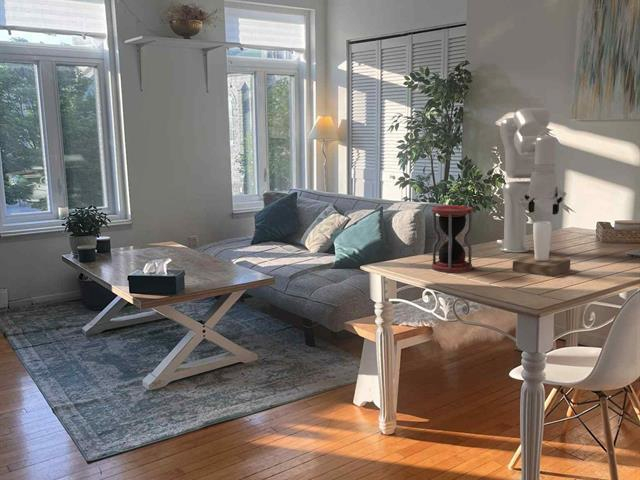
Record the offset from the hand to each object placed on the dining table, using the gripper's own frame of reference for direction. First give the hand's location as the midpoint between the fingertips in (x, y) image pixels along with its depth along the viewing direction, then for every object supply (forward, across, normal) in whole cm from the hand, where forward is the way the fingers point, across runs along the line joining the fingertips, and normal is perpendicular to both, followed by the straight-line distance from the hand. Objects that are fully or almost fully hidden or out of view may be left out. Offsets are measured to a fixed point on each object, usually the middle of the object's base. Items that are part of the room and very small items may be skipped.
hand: (543, 213), depth 244 cm
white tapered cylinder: (+19, 0, 0) cm, 19 cm away
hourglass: (+23, -29, -19) cm, 42 cm away
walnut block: (+23, 0, 0) cm, 23 cm away
